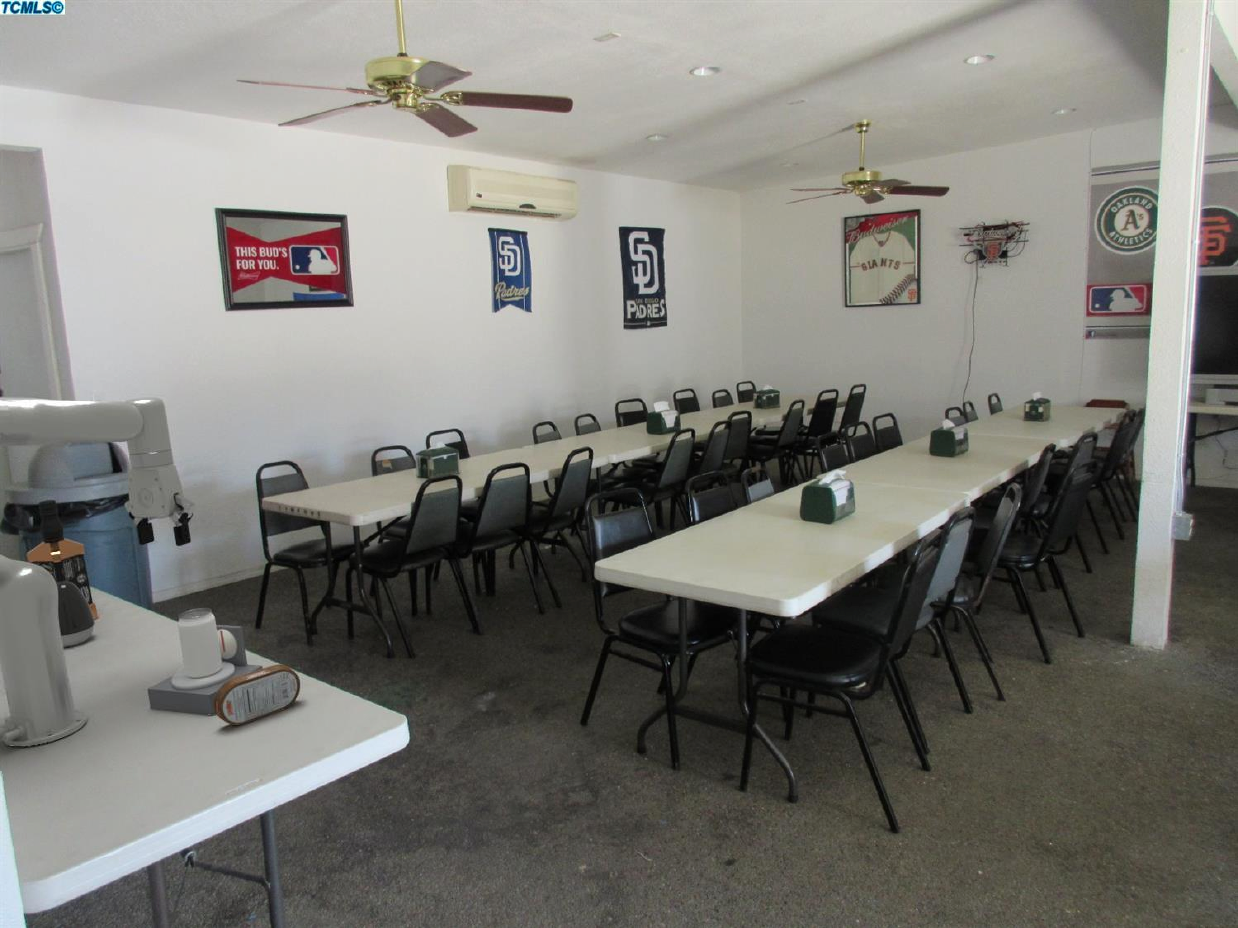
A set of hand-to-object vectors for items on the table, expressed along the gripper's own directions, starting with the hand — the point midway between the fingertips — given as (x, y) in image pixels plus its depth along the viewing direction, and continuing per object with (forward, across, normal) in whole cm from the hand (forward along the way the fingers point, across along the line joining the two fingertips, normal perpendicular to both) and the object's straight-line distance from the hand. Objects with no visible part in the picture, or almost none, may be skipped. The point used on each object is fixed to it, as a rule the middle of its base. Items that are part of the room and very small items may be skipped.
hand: (165, 543), depth 173 cm
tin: (+29, +30, -12) cm, 44 cm away
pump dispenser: (+28, -46, +11) cm, 55 cm away
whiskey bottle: (+28, -62, +21) cm, 71 cm away
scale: (+28, +13, -7) cm, 32 cm away
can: (+24, +13, -7) cm, 28 cm away
